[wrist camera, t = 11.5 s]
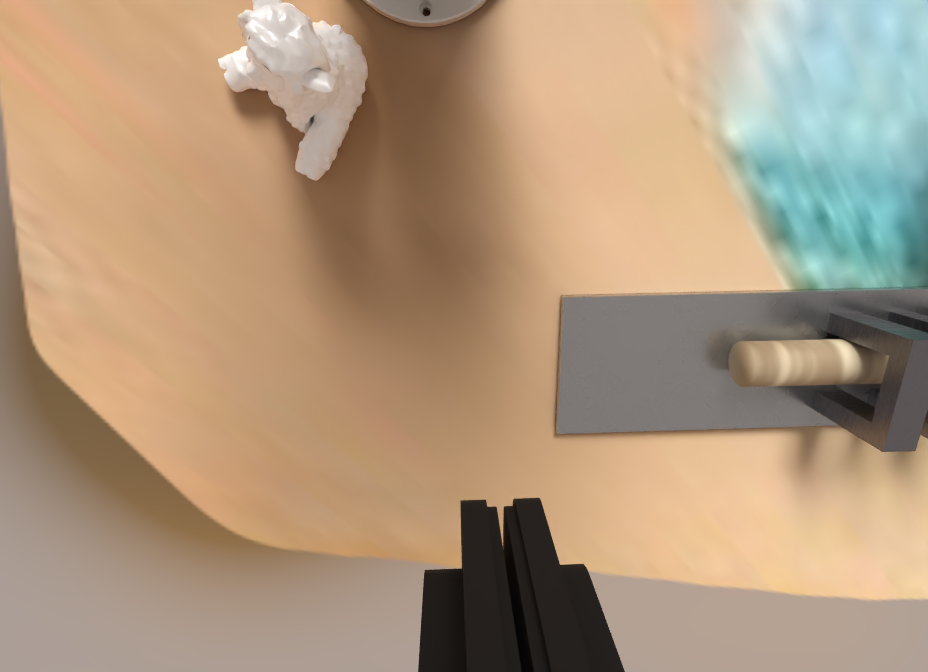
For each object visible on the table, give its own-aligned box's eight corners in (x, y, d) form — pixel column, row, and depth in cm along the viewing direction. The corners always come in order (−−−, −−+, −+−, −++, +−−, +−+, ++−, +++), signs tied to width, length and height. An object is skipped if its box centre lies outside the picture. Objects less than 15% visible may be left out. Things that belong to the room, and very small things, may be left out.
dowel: (730, 387, 39) (758, 386, 36) (726, 343, 40) (753, 338, 36) (1013, 380, 40) (1068, 378, 36) (1005, 337, 40) (1059, 331, 37)
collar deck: (561, 295, 38) (593, 325, 30) (1044, 284, 39) (1206, 310, 31) (555, 429, 42) (582, 490, 34) (998, 416, 43) (1132, 471, 35)
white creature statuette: (220, 70, 33) (99, 8, 21) (315, -17, 32) (240, -132, 20) (314, 186, 35) (249, 186, 24) (405, 110, 34) (384, 72, 23)
